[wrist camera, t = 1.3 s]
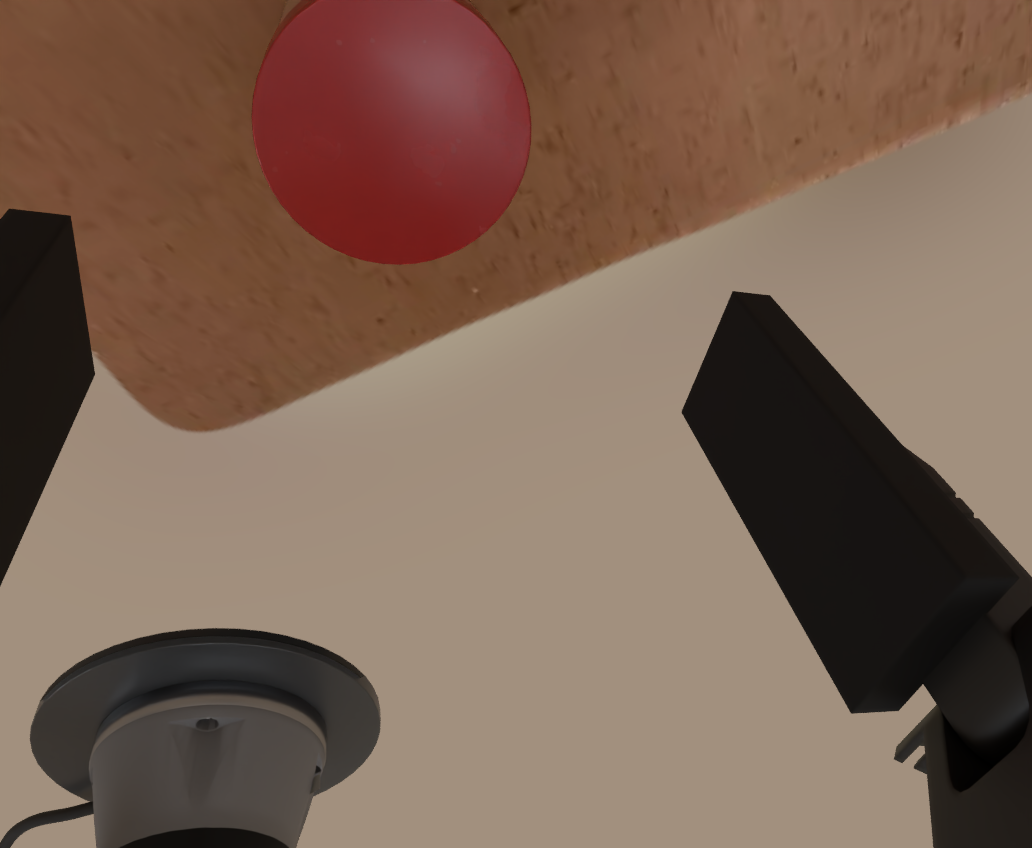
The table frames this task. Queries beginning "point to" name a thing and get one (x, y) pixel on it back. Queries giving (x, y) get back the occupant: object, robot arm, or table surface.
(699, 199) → the table surface
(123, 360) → the table surface
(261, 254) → the table surface
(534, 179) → the table surface
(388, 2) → the lid
